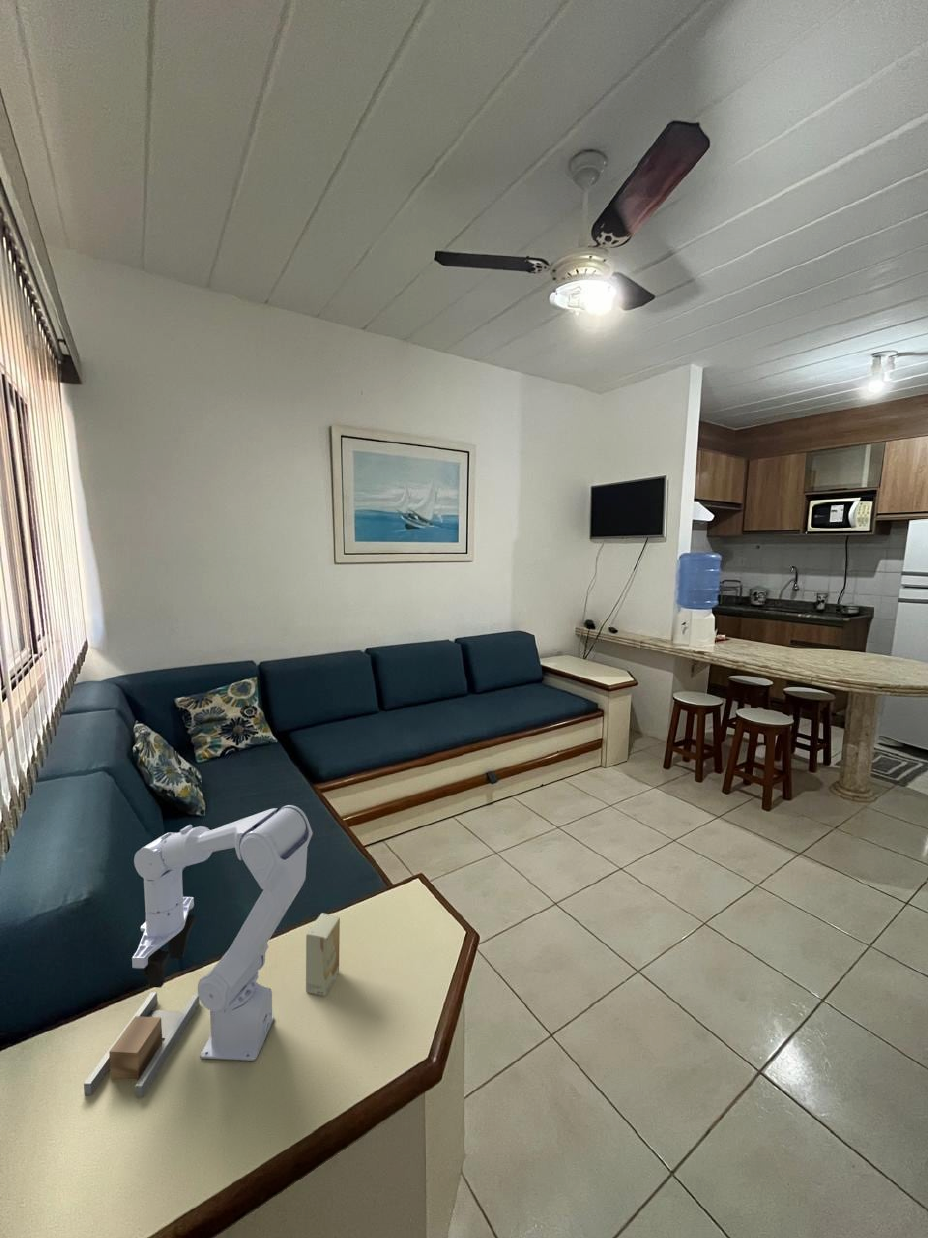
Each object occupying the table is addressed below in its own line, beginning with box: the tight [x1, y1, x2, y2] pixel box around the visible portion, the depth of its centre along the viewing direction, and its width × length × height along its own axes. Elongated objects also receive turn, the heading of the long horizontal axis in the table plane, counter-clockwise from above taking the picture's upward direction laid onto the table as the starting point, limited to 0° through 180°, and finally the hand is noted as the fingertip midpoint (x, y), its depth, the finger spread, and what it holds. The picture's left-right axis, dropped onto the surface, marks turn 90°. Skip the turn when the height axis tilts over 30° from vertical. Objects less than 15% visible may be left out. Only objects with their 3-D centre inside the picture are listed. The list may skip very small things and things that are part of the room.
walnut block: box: [109, 1016, 163, 1081], centre depth 80 cm, size 4×6×5 cm
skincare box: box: [305, 912, 341, 997], centre depth 96 cm, size 6×4×12 cm
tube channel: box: [83, 991, 201, 1098], centre depth 83 cm, size 9×16×2 cm, turn 179°
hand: (167, 971), depth 88 cm, fingers open, 5 cm apart
